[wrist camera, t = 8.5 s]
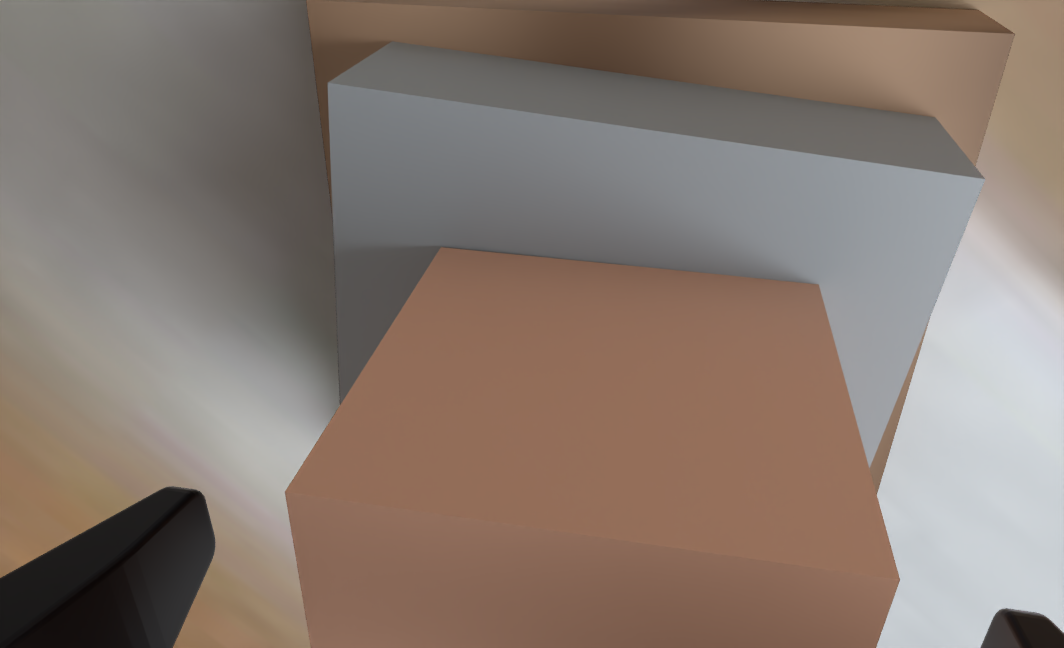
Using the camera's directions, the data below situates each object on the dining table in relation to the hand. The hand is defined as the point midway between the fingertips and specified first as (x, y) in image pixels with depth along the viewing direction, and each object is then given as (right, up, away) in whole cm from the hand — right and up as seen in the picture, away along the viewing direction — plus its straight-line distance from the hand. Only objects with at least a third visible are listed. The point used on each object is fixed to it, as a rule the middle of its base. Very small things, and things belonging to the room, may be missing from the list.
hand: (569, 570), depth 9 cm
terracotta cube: (+1, +1, +3) cm, 3 cm away
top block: (+1, +3, +5) cm, 6 cm away
